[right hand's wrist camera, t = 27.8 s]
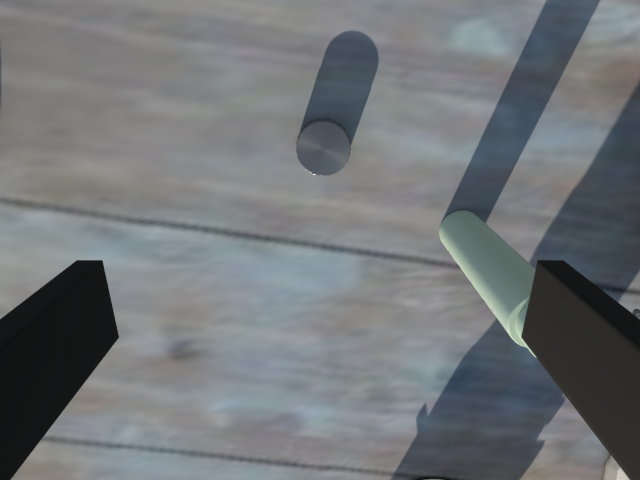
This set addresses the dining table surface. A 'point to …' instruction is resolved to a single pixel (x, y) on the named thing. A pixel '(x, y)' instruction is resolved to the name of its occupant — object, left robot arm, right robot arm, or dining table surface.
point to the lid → (323, 147)
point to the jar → (491, 268)
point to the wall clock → (614, 471)
